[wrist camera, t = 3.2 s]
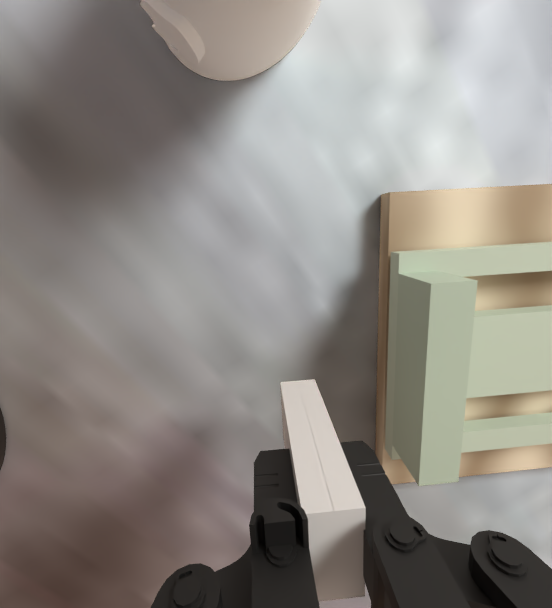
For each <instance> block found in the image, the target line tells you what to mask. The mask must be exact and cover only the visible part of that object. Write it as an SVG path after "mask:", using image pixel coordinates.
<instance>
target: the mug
mask: <svg viewBox="0 0 552 608" xmlns="http://www.w3.org/2000/svg"><path fill="white" fill-rule="evenodd" d="M320 3H321V0H141V2H140V6H141V7H142V8H143V9H144V10H145V11H146V12H147V13H148V15H149V16H150V17H151V19H152V20H153V22H154V23H153V25H152V27H153V28H154V30H155V31H156V32H157V33H158V34H159V35H160V36H161V37H162V38H163V39H164V40H165V42H166V44H167V45H168V47H169V50H171V51H172V53H173V54H174V55H175V56H176V57H177V58H178V60H179V61H180V62H181V63H183V64H184V65H185V66H186V67H187V68H189V69H190V70H192V71H193V72H195V73H197V74H199V75H201V76H204V77H206V78H210V79H214V80H220V81H234V80H241V79H245V78H249V77H252V76H254V75H257V74H259V73H261V72H263V71H265V70H267V69H268V68H270V67H272V66H273V65H275V64H276V63H277V62H279V61H280V60H281V59H282V58H283V57H284V56H286V55H287V54H288V53H289V52H290V51H291V50H292V49H293V47H294V46H295V45H296V44H297V43H298V41H299V40H300V39H301V38H302V36H303V35H304V33H305V32H306V30H307V29H308V27H309V26H310V24H311V22H312V20H313V18H314V16H315V14H316V12H317V10H318V8H319V6H320Z"/></svg>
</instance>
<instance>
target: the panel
mask: <svg viewBox="0 0 552 608" xmlns="http://www.w3.org/2000/svg"><path fill="white" fill-rule="evenodd" d="M540 271H552V242H538V243H523V244H507V245H491V246H476V247H460V248H444V249H428V250H413V251H397V252H391V261H390V295H389V328H388V361H387V395H386V428H385V450H386V451H387V453H388V455H389V456H390V458H391V460H397V459H402V461H403V463H404V464H405V466H406V467H407V469H408V470H409V472H410V473H411V475H412V476H413V478H414V480H415V481H416V483H417V484H418V486H425V485H434V484H443V483H452V482H458V479H459V469H460V459H461V453H464V452H474V451H484V450H493V449H503V448H512V447H522V446H532V445H541V444H551V443H552V412H550V413H540V414H530V415H520V416H509V417H499V418H489V419H479V420H468V421H464V417H465V407H466V398H475V397H485V396H496V395H507V394H517V393H528V392H539V391H550V390H552V305H547V306H534V307H521V308H508V309H495V310H482V311H475V303H476V293H477V282H478V280H473V279H469V278H465V277H468V276H482V275H496V274H511V273H525V272H540Z"/></svg>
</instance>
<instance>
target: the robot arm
mask: <svg viewBox="0 0 552 608" xmlns="http://www.w3.org/2000/svg"><path fill="white" fill-rule="evenodd" d="M280 386H281V403H282V421H283V438H284V445H285V449H279V450H268V451H260V453H259V455H258V456H257V458H256V460H255V462H254V512H253V514H252V516H251V520H250V524H249V527H250V538H251V545H250V547H249V548H248V550H247V551H246V553H245V554H244V555H243V556H242V557H241V558H240V559H239V560H237V561H236V562H234V563H232V564H231V565H229V566H227V567H225V568H222V569H220V570H218V571H216V572H214V571H213V570H212V569H211V567H208V566H205V565H203V564H189V565H187V566H185V567H183V568H180V569H178V570H177V571H176V572H174V573H173V574H172V575H171V576H170V577H169V578H167V580H166V581H165V583H164V584H163V586H162V587H161V589H160V590H159V592H158V594H157V596H156V598H155V600H154V602H153V604H152V606H151V608H319V601H327V600H336V599H344V598H353V597H362V596H365V583H366V586H367V590H368V593H369V596H370V599H371V608H552V569H551V568H550V567H549V566H548V565H547V564H545V563H544V562H543V561H542V560H541V559H540V558H539V557H538V556H536V555H535V554H534V553H533V552H532V551H531V550H530V549H529V548H527V547H526V546H524V545H523V544H522V543H520V542H519V541H518V540H516V539H514V538H512V537H510V536H508V535H506V534H503V533H500V532H495V531H490V530H488V531H482V532H478V533H477V534H476V535H474V536H473V537H472V541H471V545H467V544H462V543H458V542H453V541H448V540H444V539H440V538H437V537H434V536H432V535H430V534H428V532H427V531H426V530H425V529H424V527H423V526H422V525H421V524H419V523H418V522H417V521H415V520H414V519H412V518H410V517H409V515H408V514H407V512H406V510H405V509H404V507H403V505H402V503H401V501H400V499H399V497H398V495H397V494H396V492H395V490H394V488H393V486H392V484H391V482H390V480H389V479H388V477H387V475H386V474H385V471H384V469H383V467H382V466H381V465H380V462H379V460H378V458H377V456H376V454H375V452H374V451H373V450H372V449H371V448H370V447H369V446H368V445H366V444H365V443H364V442H363V441H354V442H343V443H340V442H339V439H338V437H337V434H336V432H335V429H334V427H333V424H332V422H331V419H330V417H329V414H328V412H327V409H326V407H325V404H324V402H323V399H322V397H321V394H320V392H319V389H318V386H317V384H316V381H315V379H312V380H300V381H288V382H280ZM5 448H6V432H5V424H4V419H3V415H2V412H1V409H0V469H1V466H2V463H3V460H4V455H5Z"/></svg>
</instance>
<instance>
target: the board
mask: <svg viewBox="0 0 552 608" xmlns="http://www.w3.org/2000/svg"><path fill="white" fill-rule="evenodd" d="M538 242H552V184H542V185H522V186H503V187H484V188H465V189H446V190H427V191H407V192H390V193H386V194H382V195H381V211H380V257H379V303H378V349H377V395H376V441H375V454H376V456H377V458H378V460H379V462H380V465H381V466H382V467H383V469H384V471H385V474H386V475H387V477H388V479H389V480H390V482H391V484H399V483H408V482H416V481H415V480H414V478H413V476H412V475H411V473H410V472H409V470H408V469H407V467H406V466H405V464H404V463H403V461H402V459H397V460H391V458H390V456H389V455H388V453H387V451H386V450H385V428H386V395H387V361H388V328H389V295H390V261H391V252H397V251H413V250H428V249H444V248H460V247H476V246H491V245H507V244H523V243H538ZM465 278H469V279H473V280H478V282H477V293H476V303H475V311H482V310H495V309H508V308H521V307H534V306H547V305H552V271H540V272H525V273H511V274H496V275H482V276H468V277H465ZM550 412H552V390H550V391H539V392H528V393H517V394H507V395H496V396H485V397H475V398H466V407H465V417H464V421H468V420H479V419H489V418H499V417H509V416H520V415H530V414H540V413H550ZM546 467H552V443H551V444H541V445H532V446H522V447H512V448H503V449H493V450H484V451H474V452H464V453H461V459H460V469H459V477H464V476H473V475H482V474H491V473H500V472H510V471H519V470H528V469H537V468H546Z"/></svg>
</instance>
